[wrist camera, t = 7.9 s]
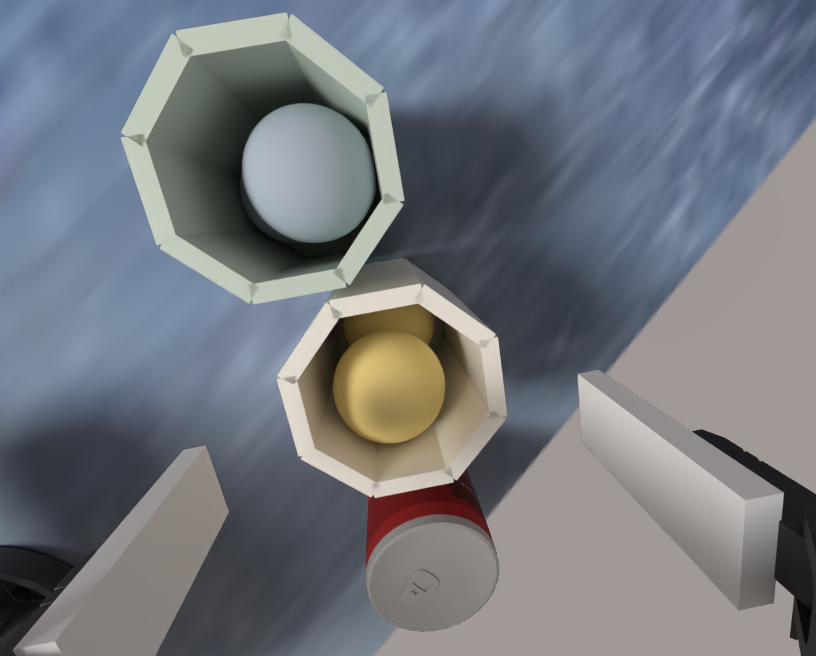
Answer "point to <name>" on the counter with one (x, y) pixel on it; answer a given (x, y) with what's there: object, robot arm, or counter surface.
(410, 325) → the cream ball
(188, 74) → the crock sage
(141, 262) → the counter surface
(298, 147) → the blue-grey ball
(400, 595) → the canned food
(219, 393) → the counter surface
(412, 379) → the ball loose
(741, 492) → the robot arm
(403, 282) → the crock cream
